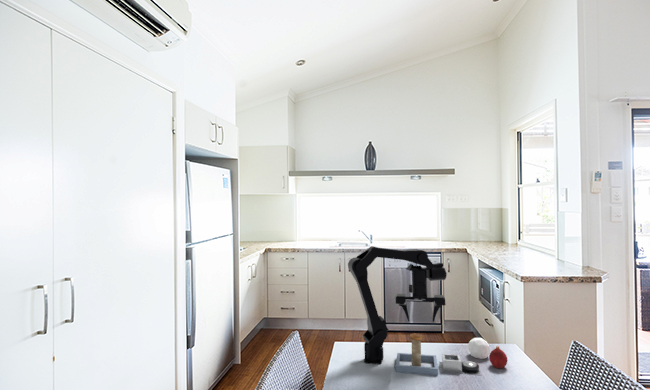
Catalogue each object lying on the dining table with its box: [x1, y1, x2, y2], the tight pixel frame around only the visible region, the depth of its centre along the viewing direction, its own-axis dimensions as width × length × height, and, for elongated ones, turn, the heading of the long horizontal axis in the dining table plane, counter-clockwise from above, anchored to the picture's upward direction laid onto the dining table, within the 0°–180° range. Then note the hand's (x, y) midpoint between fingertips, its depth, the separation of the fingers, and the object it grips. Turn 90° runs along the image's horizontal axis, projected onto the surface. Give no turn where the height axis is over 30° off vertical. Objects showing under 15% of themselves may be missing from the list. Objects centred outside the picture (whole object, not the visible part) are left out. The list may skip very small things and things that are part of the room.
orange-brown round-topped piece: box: [409, 332, 423, 367], centre depth 131 cm, size 4×4×11 cm
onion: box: [488, 345, 508, 369], centre depth 129 cm, size 6×6×8 cm
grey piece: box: [438, 353, 482, 376], centre depth 128 cm, size 13×9×4 cm
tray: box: [395, 352, 439, 376], centre depth 130 cm, size 14×12×3 cm
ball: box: [467, 337, 491, 360], centre depth 139 cm, size 8×8×8 cm
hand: (420, 321), depth 143 cm, fingers open, 9 cm apart
